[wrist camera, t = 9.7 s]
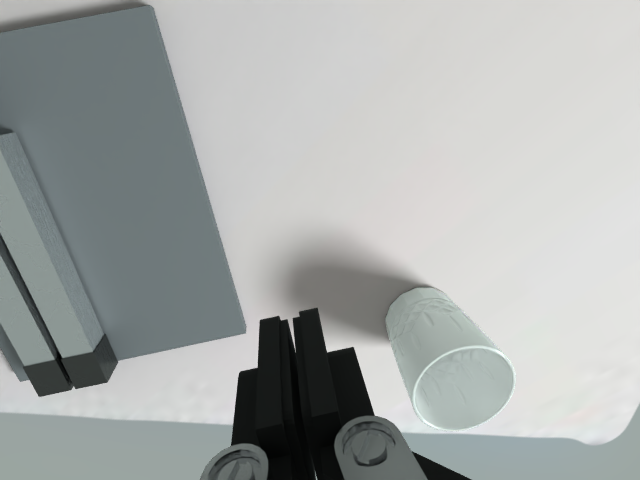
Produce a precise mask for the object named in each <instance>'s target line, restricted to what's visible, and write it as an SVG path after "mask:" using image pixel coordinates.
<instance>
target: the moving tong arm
mask: <svg viewBox="0 0 640 480" xmlns="http://www.w3.org/2000/svg"><path fill="white" fill-rule="evenodd" d="M0 233H1V235H2V237H3V239H4V241H5V243H6V245H7V247H8V249H9V251H10V253H11V255H12V257H13V259H14V261H15V263H16V265H17V267H18V269H19V271H20V274H21V276H22V278H23V280H24V282H25V284H26V286H27V288H28V290H29V292H30V294H31V296H32V298H33V300H34V302H35V304H36V306H37V308H38V310H39V312H40V314H41V316H42V318H43V320H44V322H45V324H46V326H47V328H48V330H49V332H50V334H51V336H52V338H53V340H54V342H55V344H56V346H57V348H58V350H59V352H60V354H61V356H62V359H61V361H62V363H63V365H64V367H65V369H66V371H67V373H68V375H69V377H70V379H71V381H72V383H73V385H74V387H75V389H78V388H83V387H88V386H93V385H98V384H102V383H107V382H108V381H109V379H110V377H111V375H112V373H113V371H114V369H115V367H116V365H117V364H118V361H117V358H116V356H115V354H114V351H113V349H112V347H111V345H110V342H109V340H108V338H107V335H106V334H104V333H103V331H102V329H101V326H100V324H99V322H98V319H97V317H96V315H95V313H94V310H93V308H92V306H91V303H90V301H89V299H88V297H87V294H86V292H85V290H84V287H83V285H82V283H81V281H80V278H79V276H78V274H77V271H76V269H75V267H74V265H73V262H72V260H71V258H70V255H69V253H68V251H67V249H66V246H65V244H64V242H63V239H62V237H61V235H60V233H59V230H58V228H57V226H56V223H55V221H54V219H53V217H52V214H51V212H50V210H49V207H48V205H47V203H46V201H45V198H44V196H43V194H42V191H41V189H40V187H39V185H38V182H37V180H36V178H35V175H34V173H33V171H32V169H31V166H30V164H29V162H28V159H27V157H26V155H25V153H24V150H23V148H22V146H21V143H20V141H19V139H18V137H17V134H16V132H14V133H8V134H3V135H0Z"/></svg>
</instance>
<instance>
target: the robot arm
mask: <svg viewBox="0 0 640 480" xmlns="http://www.w3.org/2000/svg"><path fill="white" fill-rule="evenodd" d="M299 315H300V317H296V318H293V326H294V337H295V348H296V352H295V348H294V344H293V340H292V336H291V332H290V328H289V324H288V320H287V319H286V320H282V321H281V320H280V317H279V316H276V317H272V318H267V319H262V320H260V328H259V350H258V368H254V369H250V370H245V371H240V373H239V377H238V386H237V395H236V404H235V414H234V423H233V434H232V442H231V446H230V447H228V448H226V449H224V450H222V451H221V452H220V453H218V454H217V455H216V456H215V457H213V458H212V459H211V461H210V462H209V463H208V464H207V465H206V467H205V469H204V471H203V473H202V475H201V478H200V480H316V476H317V479H318V480H471V479H469V478H467V477H465V476H463V475H461V474H459V473H456V472H454V471H452V470H450V469H448V468H446V467H444V466H442V465H440V464H438V463H435V462H433V461H431V460H429V459H427V458H425V457H423V456H421V455H419V454H417V453H414V452H412V451H411V450H410V448H409V446H408V444H407V443H406V441H405V439H404V438H403V436H402V434H401V432H400V431H399V429H398V428H397V427H396V426H395V425H394V424H393V423H392V422H390V421H389V420H387V419H385V418H382V417H378V416H375V415H374V412H373V409H372V406H371V402H370V399H369V396H368V392H367V389H366V386H365V383H364V379H363V376H362V373H361V370H360V366H359V363H358V360H357V356H356V353H355V350H354V348H353V347H351V348H346V349H342V350H337V351H332V352H328V353H327V351H326V346H325V341H324V337H323V332H322V327H321V322H320V317H319V313H318V308H314V309H309V310H304V311H300V312H299ZM315 472H316V476H315Z"/></svg>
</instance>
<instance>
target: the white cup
mask: <svg viewBox="0 0 640 480" xmlns="http://www.w3.org/2000/svg"><path fill="white" fill-rule="evenodd" d="M385 321H386V328H387V334H388V336H389V339H390V342H391V346H392V350H393V353H394V356H395V358H396V362H397V365H398V368H399V371H400V373H401V376H402V379H403V382H404V384H405V387H406V390H407V392H408V395H409V398H410V401H411V403H412V406H413V409H414V411H415V413H416V415H417V416H418V418H419V419H420V420H421V421H422V422H424V423H425V424H426V425H428V426H430V427H432V428H434V429H437V430H442V431H451V432H453V431H463V430H468V429H472V428H475V427H477V426H480V425H482V424H484V423H486V422H487V421H489V420H490V419H492V418H493V417H495V416H496V415H497V414H498V413H499V412H500V411H501V410H502V409H503V408H504V407H505V406H506V404H507V403H508V401H509V400H510V398H511V396H512V394H513V391H514V388H515V383H516V375H515V370H514V367H513V365H512V363H511V361H510V360H509V358H508V357H507V356H506V355H505V354H504V353H503V352H502V351H501V350H500V349H499V348H498V347H497V346H496V345H495V343H494V342H493V341H492V340H491V339H490V338H489V337H488V336H487V335H486V334H485V333H484V332H483V330H482V329H481V328H480V327H479V326H478V325H477V324H476V323H475V322H474V321H473V320H472V319H471V318H470V317H469V316H468V315H467V314H466V313H465V312H464V311H463V310H462V309H460V308H459V307H458V306H457V305H456V304H455V303H454V302H453V301H452V300H451V299H450V298H449V297H448V296H447V295H446V294H445V293H443V292H441V291H439V290H437V289H435V288H432V287H427V288H415V289H412V290H410V291H408V292H405V293H403V294H401V295H400V296H399V297H398V298H397V299H396V300H395V301H394V302H393V303H392V304H391V305H390V308H389V311H388V313H387V316H386V319H385Z"/></svg>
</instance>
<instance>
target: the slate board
mask: <svg viewBox="0 0 640 480" xmlns="http://www.w3.org/2000/svg"><path fill="white" fill-rule="evenodd" d="M14 132H16V134H17V137H18V139H19V141H20V143H21V146H22V148H23V150H24V153H25V155H26V157H27V159H28V162H29V164H30V166H31V169H32V171H33V173H34V175H35V178H36V180H37V182H38V185H39V187H40V189H41V191H42V194H43V196H44V198H45V201H46V203H47V205H48V207H49V210H50V212H51V214H52V217H53V219H54V221H55V223H56V226H57V228H58V230H59V233H60V235H61V237H62V239H63V242H64V244H65V246H66V249H67V251H68V253H69V255H70V258H71V260H72V262H73V265H74V267H75V269H76V271H77V274H78V276H79V278H80V281H81V283H82V285H83V287H84V290H85V292H86V294H87V297H88V299H89V301H90V303H91V306H92V308H93V310H94V313H95V315H96V317H97V319H98V322H99V324H100V326H101V329H102V331H103V333H104V334H106V335H107V338H108V340H109V342H110V345H111V347H112V349H113V351H114V354H115V356H116V358H117V361H119V360H124V359H128V358H133V357H138V356H142V355H147V354H152V353H156V352H161V351H166V350H170V349H175V348H180V347H184V346H189V345H193V344H198V343H203V342H207V341H212V340H217V339H221V338H226V337H231V336H235V335H240V334H245V333H246V324H245V320H244V317H243V314H242V310H241V307H240V303H239V300H238V296H237V293H236V290H235V286H234V283H233V279H232V276H231V272H230V269H229V266H228V262H227V259H226V255H225V252H224V248H223V245H222V242H221V238H220V235H219V231H218V228H217V224H216V221H215V218H214V214H213V211H212V207H211V204H210V200H209V197H208V194H207V190H206V187H205V183H204V180H203V176H202V173H201V170H200V166H199V163H198V159H197V156H196V152H195V149H194V146H193V142H192V139H191V135H190V132H189V128H188V125H187V122H186V118H185V115H184V111H183V108H182V104H181V101H180V98H179V94H178V91H177V87H176V84H175V80H174V77H173V74H172V70H171V67H170V63H169V60H168V56H167V53H166V50H165V46H164V43H163V39H162V36H161V32H160V29H159V26H158V22H157V19H156V15H155V12H154V8H153V7H152V6H150V5H147V6H142V7H137V8H131V9H126V10H120V11H115V12H109V13H104V14H99V15H93V16H88V17H82V18H77V19H72V20H66V21H61V22H55V23H50V24H44V25H39V26H34V27H28V28H23V29H17V30H12V31H7V32H1V33H0V135H3V134H8V133H14ZM0 348H1V350H2V351H3V353H4V355H5V357H6V358H7V360H8V362H9V363H10V365H11V367H12V369H13V370H14V372H15V374H16V376H17V377H18V379H19V381H20V382H21V381H26V380H29V378H28V376H27V374H26V373H25V371H24V369H23V367H24V364H23V363H22V361H21V359H20V357H19V356H18V354H17V352H16V350H15V348H14V347H13V345H12V343H11V341H10V339H9V338H8V336H7V334H6V332H5V330H4V329H3V327H2V325H1V323H0Z"/></svg>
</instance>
